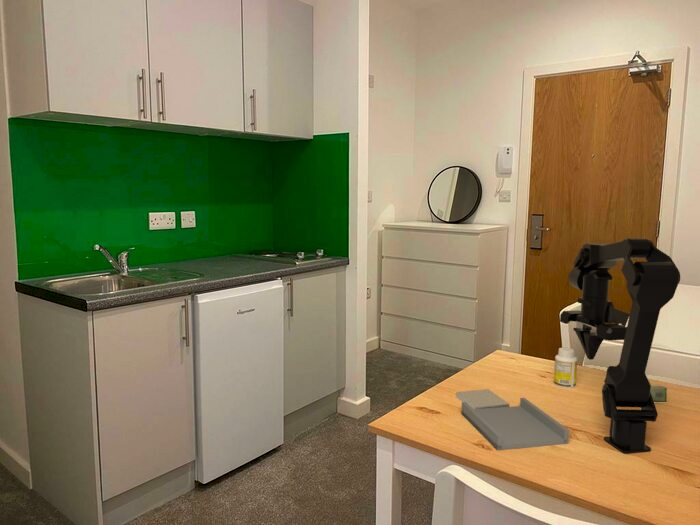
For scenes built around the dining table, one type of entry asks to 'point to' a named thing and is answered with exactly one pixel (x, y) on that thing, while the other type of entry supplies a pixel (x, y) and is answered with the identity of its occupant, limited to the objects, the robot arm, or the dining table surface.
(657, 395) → the medication box
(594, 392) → the dining table surface
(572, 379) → the supplement bottle
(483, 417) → the slide box
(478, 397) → the cover plate
